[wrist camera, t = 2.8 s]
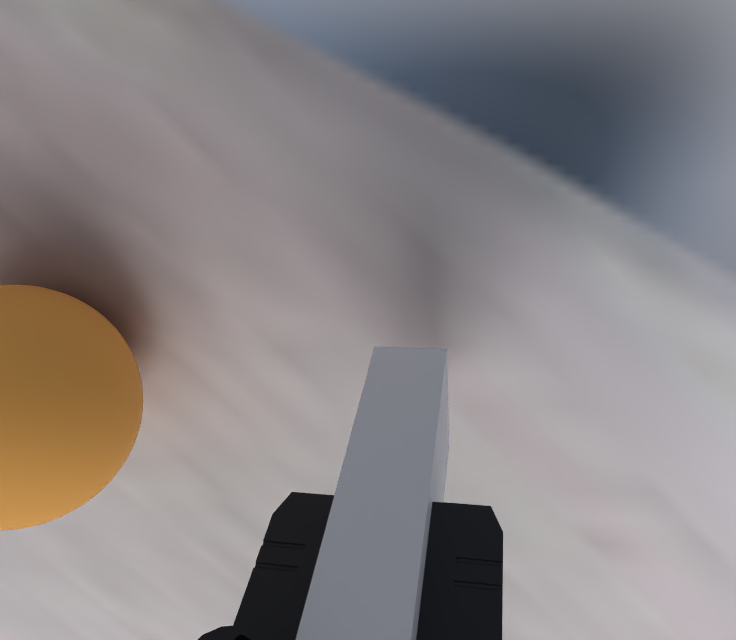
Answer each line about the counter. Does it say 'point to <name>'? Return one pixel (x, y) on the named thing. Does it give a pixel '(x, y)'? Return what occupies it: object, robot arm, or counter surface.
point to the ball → (60, 404)
